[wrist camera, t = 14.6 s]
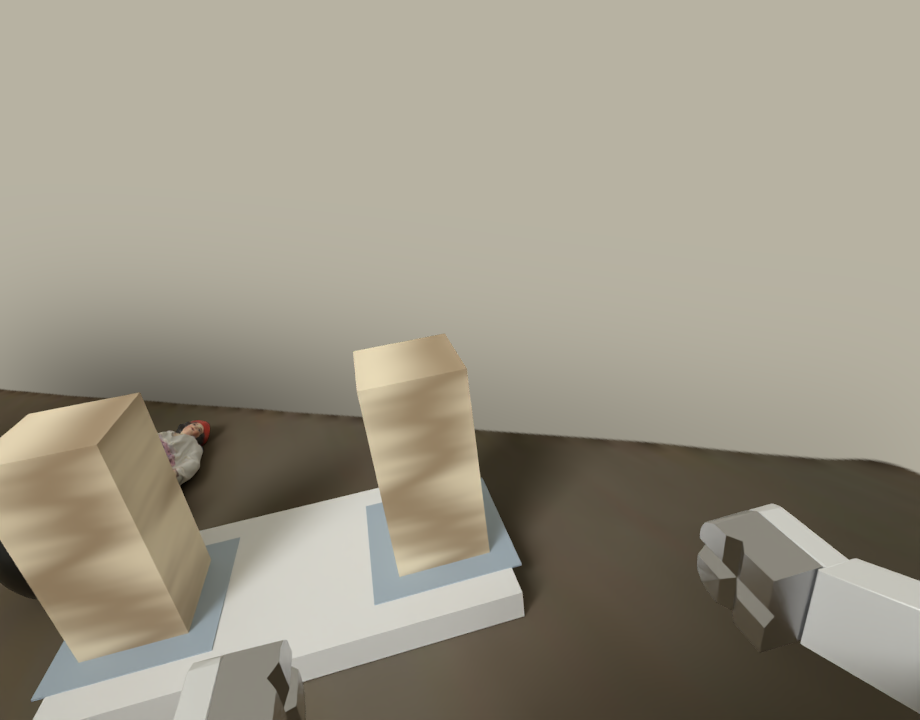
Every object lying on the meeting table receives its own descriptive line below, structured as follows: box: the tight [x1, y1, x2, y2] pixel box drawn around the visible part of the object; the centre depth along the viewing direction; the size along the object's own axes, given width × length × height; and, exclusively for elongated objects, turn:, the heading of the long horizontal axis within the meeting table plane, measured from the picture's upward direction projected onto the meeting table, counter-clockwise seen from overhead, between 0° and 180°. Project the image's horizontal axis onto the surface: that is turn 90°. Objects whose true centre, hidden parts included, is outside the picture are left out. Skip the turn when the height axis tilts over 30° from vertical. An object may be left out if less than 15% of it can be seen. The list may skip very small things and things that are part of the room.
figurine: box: [0, 420, 210, 600], centre depth 33 cm, size 8×7×18 cm
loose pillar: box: [353, 334, 490, 577], centre depth 24 cm, size 4×4×10 cm
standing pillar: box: [0, 393, 211, 663], centre depth 22 cm, size 4×4×10 cm
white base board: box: [31, 478, 525, 720], centre depth 25 cm, size 21×10×2 cm, turn 103°
